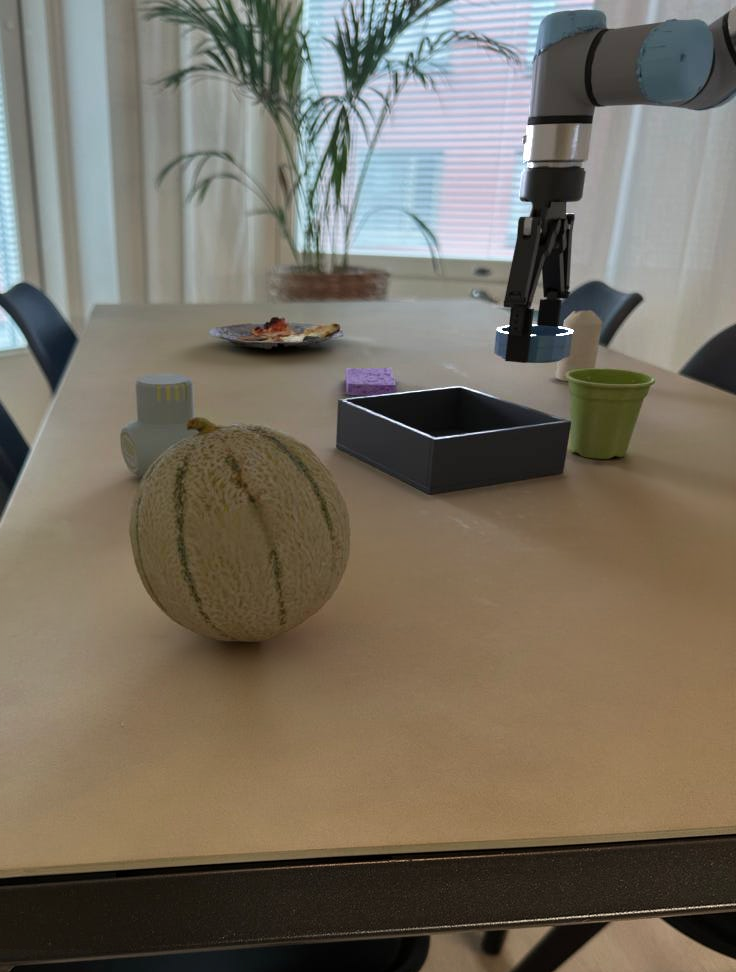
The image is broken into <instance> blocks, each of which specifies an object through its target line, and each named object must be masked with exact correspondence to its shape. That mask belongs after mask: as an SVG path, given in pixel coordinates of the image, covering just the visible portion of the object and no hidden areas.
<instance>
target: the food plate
mask: <svg viewBox="0 0 736 972" xmlns="http://www.w3.org/2000/svg"><path fill="white" fill-rule="evenodd" d="M207 334H208V335H210V336H212V337H214V338H217V339H221V340H223V341H225V340H226V341H228V342H229V343H231V344H232V345H235V346H240V347H246V348H251V349H252V348H260V349H265V350H272V348H273V347H276V348H277V347H278V345H283V346H284V347H288V346H289V347H293V346H294V347H299V346H301V347H302V346H307V345H309V344H311V343H312V344H313V343H315V344H318V345H320V344H321V343H322V342H325V341H330V340H331V339H337V338H342V337H344V333H343V330H341V325H340V324H338V323H335V322H333V323H332V322H331V323H330V324H323V325H321V324H311V323H297V322H296V323H295V322H294V323H293V322H286V318H285V317H284V316H283V317H281V318H280V317H278V316H273V317H271V318H270V320H269V321H266V322H263V323H249V322H248V323H241V324H240V323H239V324H232V325H225V326H221V327H219V326H217V327H214V328H210V329H209V330H208V332H207Z"/></svg>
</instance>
